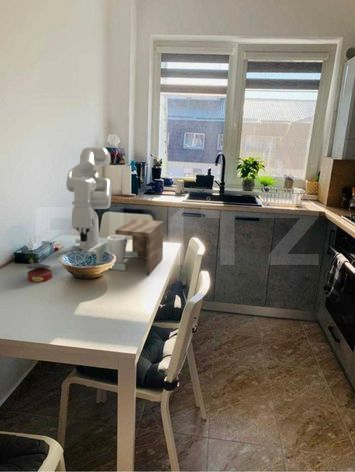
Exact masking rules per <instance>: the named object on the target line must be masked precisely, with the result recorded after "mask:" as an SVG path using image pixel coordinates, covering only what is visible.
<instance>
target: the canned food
mask: <svg viewBox="0 0 355 472" xmlns="http://www.w3.org/2000/svg"><path fill="white" fill-rule="evenodd" d="M25 268H26V269H27V270H29V271H28V272H27V280H28V281H29V282H31V283H44V282H48V281H50V280H51V279H52V278H53V272H52V270H51V269H50V268H51V266H50V265H48V264H44V263H43V264H42V263H37V262H33V263H29V264H27V266H26V267H25Z"/></svg>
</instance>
